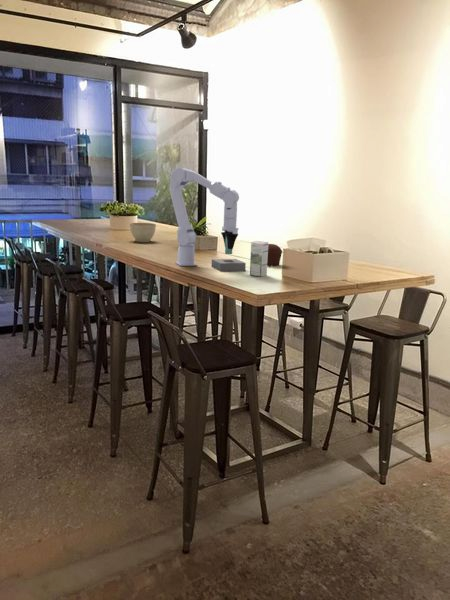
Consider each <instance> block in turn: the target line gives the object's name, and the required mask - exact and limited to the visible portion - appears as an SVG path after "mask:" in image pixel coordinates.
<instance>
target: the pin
mask: <svg viewBox="0 0 450 600" xmlns="http://www.w3.org/2000/svg"><path fill="white" fill-rule="evenodd" d="M224 248H225V249H224V254H225V255H233V249H228V245H227V237H226V242H225V244H224Z"/></svg>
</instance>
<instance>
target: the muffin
mask: <svg viewBox="0 0 450 600" xmlns="http://www.w3.org/2000/svg"><path fill="white" fill-rule="evenodd" d="M282 254H283V250H282V248H281V247H280V246H279V245H278V244H274V243H268V258H267V267H278V266H280V264H281V259H282V258H281V257H282Z"/></svg>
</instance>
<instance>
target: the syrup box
mask: <svg viewBox="0 0 450 600" xmlns="http://www.w3.org/2000/svg"><path fill="white" fill-rule="evenodd" d="M268 244H269V242H268V241H259V240H255V241H252V242H250V263H249V276H254V277H259V278H260V277H266V276H267V274H268V266H267V258H268Z"/></svg>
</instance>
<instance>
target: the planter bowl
mask: <svg viewBox="0 0 450 600" xmlns="http://www.w3.org/2000/svg"><path fill="white" fill-rule="evenodd" d="M156 227H157V224H156V223H151V222H129V228H130V233H131V235H132V237H133V238H134V241H135V242H140V243H149V242H152V241H151V240H152V238H153V237H154V236H155V234H156Z"/></svg>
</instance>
